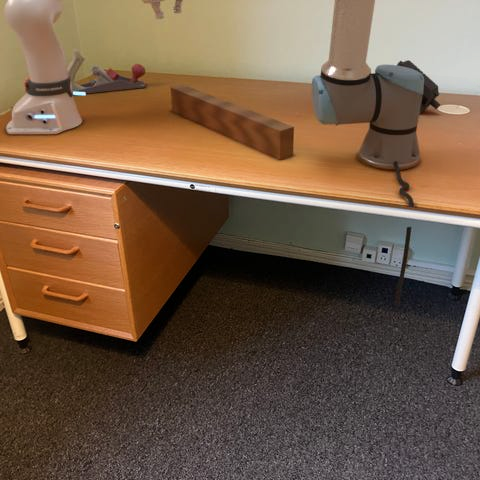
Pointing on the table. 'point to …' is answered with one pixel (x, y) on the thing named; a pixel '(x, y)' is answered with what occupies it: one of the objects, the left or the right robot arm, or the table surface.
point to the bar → (234, 121)
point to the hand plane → (104, 77)
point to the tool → (425, 88)
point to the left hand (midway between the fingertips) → (169, 15)
